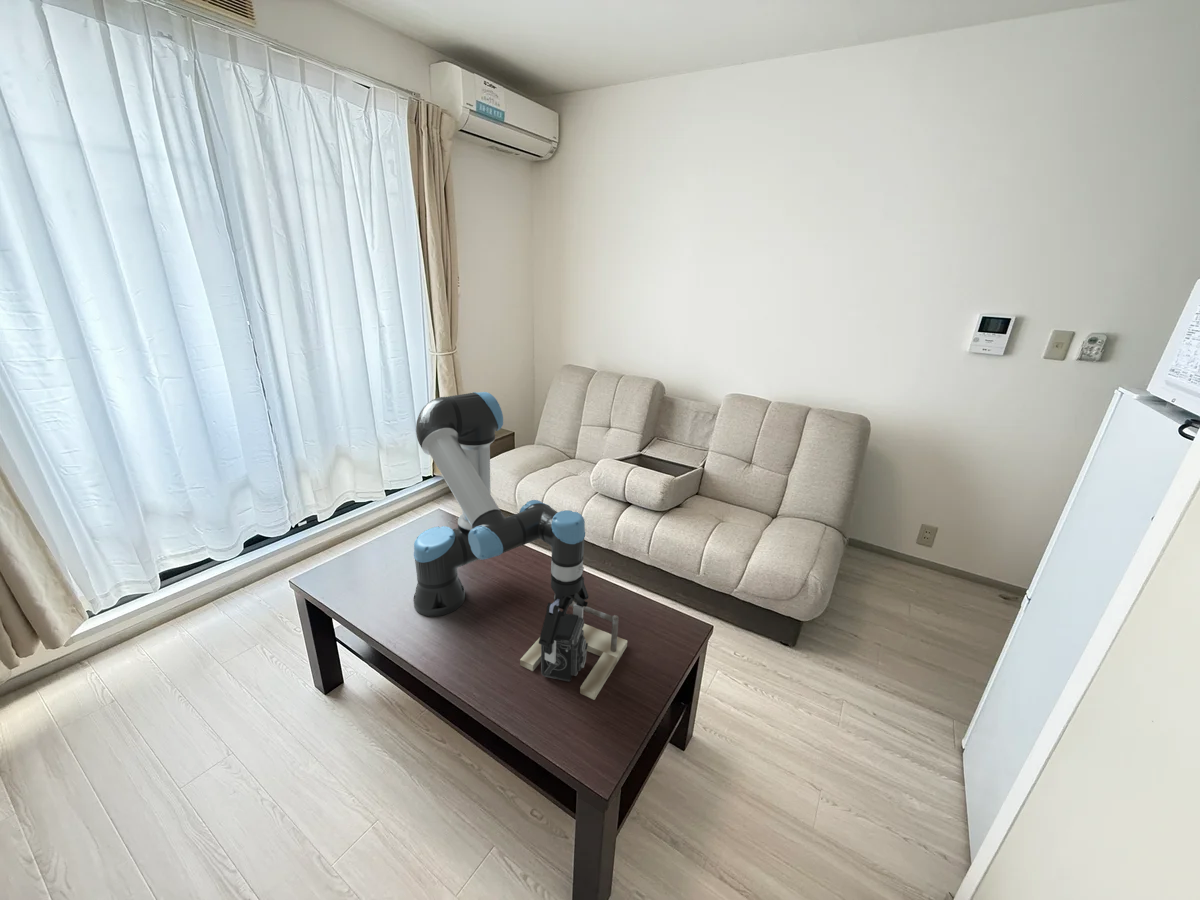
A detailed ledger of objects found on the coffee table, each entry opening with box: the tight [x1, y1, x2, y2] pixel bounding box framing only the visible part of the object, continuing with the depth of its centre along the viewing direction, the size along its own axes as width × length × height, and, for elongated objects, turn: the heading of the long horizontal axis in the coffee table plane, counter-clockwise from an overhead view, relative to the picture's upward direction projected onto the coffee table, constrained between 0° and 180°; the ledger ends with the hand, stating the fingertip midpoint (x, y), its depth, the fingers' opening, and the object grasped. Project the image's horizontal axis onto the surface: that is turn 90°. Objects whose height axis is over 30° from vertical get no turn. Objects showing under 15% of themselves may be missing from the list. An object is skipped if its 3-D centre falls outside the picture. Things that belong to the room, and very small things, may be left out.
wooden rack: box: [519, 594, 628, 701], centre depth 123 cm, size 22×20×13 cm
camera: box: [540, 613, 588, 683], centre depth 118 cm, size 10×10×15 cm
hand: (564, 642), depth 118 cm, fingers open, 13 cm apart
